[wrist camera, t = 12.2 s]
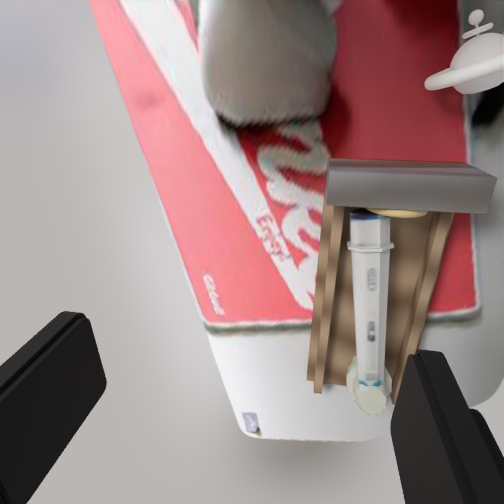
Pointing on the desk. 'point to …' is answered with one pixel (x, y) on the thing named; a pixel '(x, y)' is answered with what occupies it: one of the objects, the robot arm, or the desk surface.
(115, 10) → the desk surface
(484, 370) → the desk surface
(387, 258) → the toothbrush head
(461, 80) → the ring around a ball
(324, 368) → the fitting board
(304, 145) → the desk surface
